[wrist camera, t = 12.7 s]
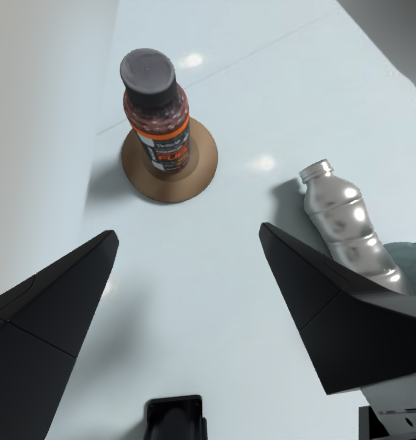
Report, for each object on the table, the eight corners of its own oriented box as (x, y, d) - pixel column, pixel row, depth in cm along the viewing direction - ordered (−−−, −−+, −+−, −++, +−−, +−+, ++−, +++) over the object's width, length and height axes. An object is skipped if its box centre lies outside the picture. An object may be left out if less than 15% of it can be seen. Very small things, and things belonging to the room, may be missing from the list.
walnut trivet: (121, 202, 22) (118, 200, 21) (127, 115, 24) (124, 109, 23) (218, 202, 23) (219, 200, 22) (215, 120, 25) (216, 114, 24)
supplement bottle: (166, 183, 22) (136, 120, 10) (141, 151, 22) (85, 58, 11) (199, 159, 22) (203, 78, 11) (174, 130, 23) (154, 23, 12)
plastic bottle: (411, 288, 20) (339, 156, 22) (437, 324, 15) (341, 147, 17) (348, 291, 24) (293, 179, 26) (352, 319, 19) (283, 177, 21)
